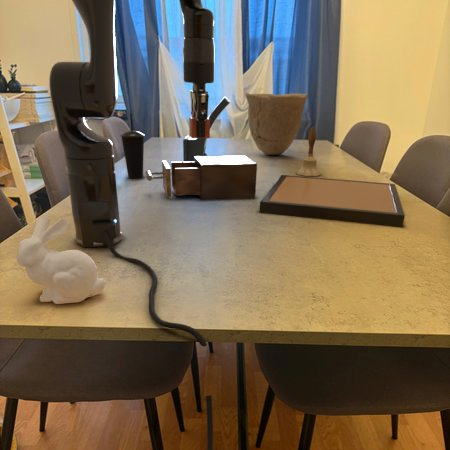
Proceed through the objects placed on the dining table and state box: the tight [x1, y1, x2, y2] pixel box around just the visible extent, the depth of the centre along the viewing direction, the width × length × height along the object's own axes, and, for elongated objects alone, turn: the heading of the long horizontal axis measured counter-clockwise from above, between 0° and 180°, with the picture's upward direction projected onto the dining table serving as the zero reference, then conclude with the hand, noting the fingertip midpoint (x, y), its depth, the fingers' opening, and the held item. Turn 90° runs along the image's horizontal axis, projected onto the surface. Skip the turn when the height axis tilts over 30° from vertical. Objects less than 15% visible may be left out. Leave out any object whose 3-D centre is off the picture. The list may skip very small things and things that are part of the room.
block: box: [188, 116, 211, 139], centre depth 111 cm, size 5×5×5 cm
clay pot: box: [244, 92, 309, 156], centre depth 187 cm, size 27×28×25 cm
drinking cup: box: [120, 112, 145, 180], centre depth 141 cm, size 8×8×20 cm
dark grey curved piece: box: [182, 96, 232, 162], centre depth 163 cm, size 11×17×24 cm, turn 87°
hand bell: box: [297, 126, 321, 177], centre depth 154 cm, size 8×8×16 cm
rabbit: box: [16, 214, 106, 305], centre depth 67 cm, size 12×9×12 cm
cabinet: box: [194, 155, 258, 201], centre depth 127 cm, size 16×13×10 cm
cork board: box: [259, 174, 406, 228], centre depth 123 cm, size 36×3×35 cm
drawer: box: [144, 160, 201, 199], centre depth 124 cm, size 20×12×8 cm, turn 103°
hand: (199, 135), depth 112 cm, fingers closed on block, 4 cm apart
